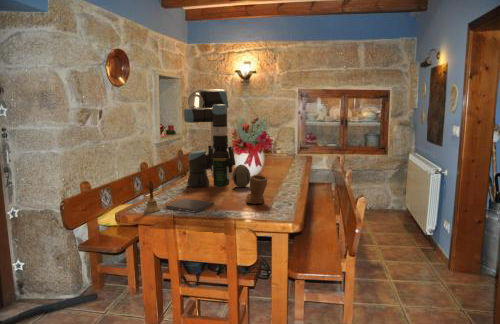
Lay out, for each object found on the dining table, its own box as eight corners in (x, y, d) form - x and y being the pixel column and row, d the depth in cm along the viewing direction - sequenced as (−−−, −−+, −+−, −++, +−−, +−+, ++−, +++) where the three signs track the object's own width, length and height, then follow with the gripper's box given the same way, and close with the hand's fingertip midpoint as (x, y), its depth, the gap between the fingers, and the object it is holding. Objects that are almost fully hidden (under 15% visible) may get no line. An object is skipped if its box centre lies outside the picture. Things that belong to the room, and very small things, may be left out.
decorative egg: (254, 186, 251) (254, 164, 248) (241, 190, 242) (241, 166, 240) (241, 184, 259) (241, 162, 256) (229, 187, 250) (228, 164, 248)
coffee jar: (227, 187, 195) (226, 151, 192) (212, 187, 196) (210, 151, 193) (231, 183, 205) (230, 148, 201) (216, 183, 206) (215, 148, 203)
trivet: (165, 208, 204) (165, 205, 204) (183, 201, 218) (183, 198, 218) (196, 212, 195) (196, 209, 195) (213, 204, 209) (213, 202, 209)
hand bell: (145, 208, 204) (143, 179, 202) (161, 207, 205) (159, 178, 202) (142, 212, 196) (140, 182, 194) (159, 212, 197) (157, 181, 194)
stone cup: (267, 205, 206) (266, 178, 204) (245, 205, 207) (244, 178, 204) (268, 198, 221) (267, 172, 218) (247, 198, 222) (247, 172, 219)
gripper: (198, 134, 197) (200, 177, 201) (234, 136, 188) (235, 181, 192) (206, 133, 204) (208, 175, 208) (242, 134, 194) (242, 178, 198)
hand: (221, 178), depth 200 cm, fingers closed on coffee jar, 8 cm apart
